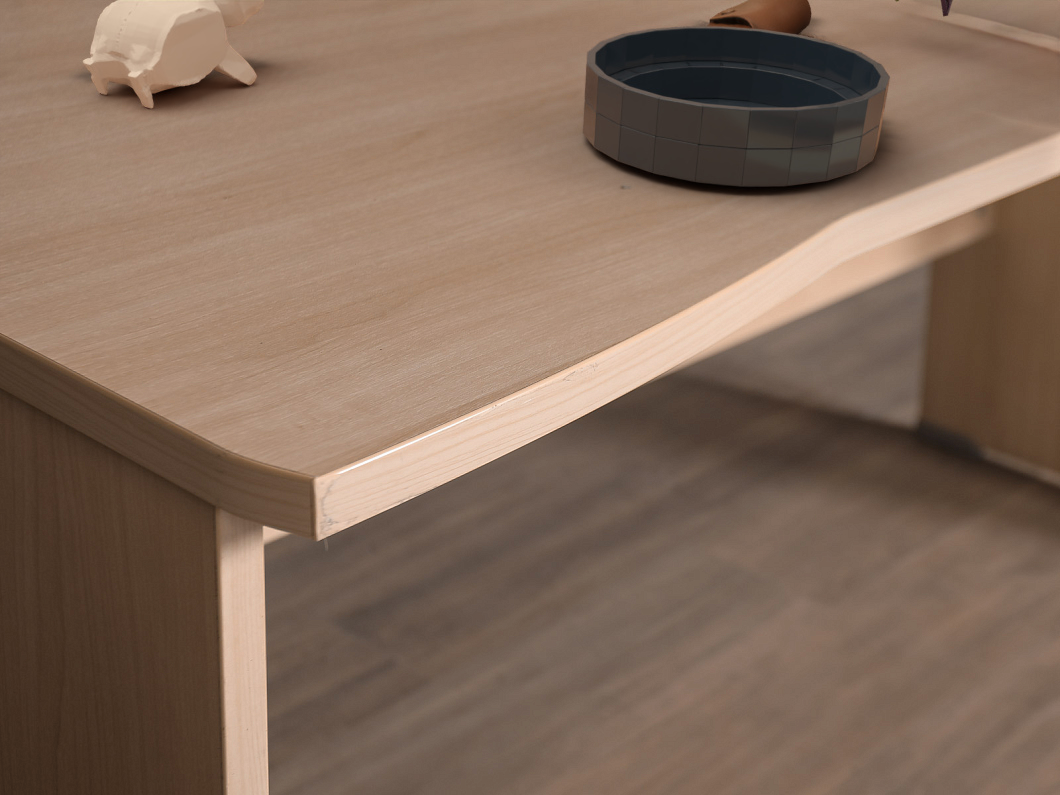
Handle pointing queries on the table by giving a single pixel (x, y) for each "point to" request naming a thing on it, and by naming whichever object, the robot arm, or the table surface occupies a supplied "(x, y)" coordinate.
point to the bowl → (734, 105)
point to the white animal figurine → (167, 44)
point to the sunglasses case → (766, 16)
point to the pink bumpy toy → (944, 6)
